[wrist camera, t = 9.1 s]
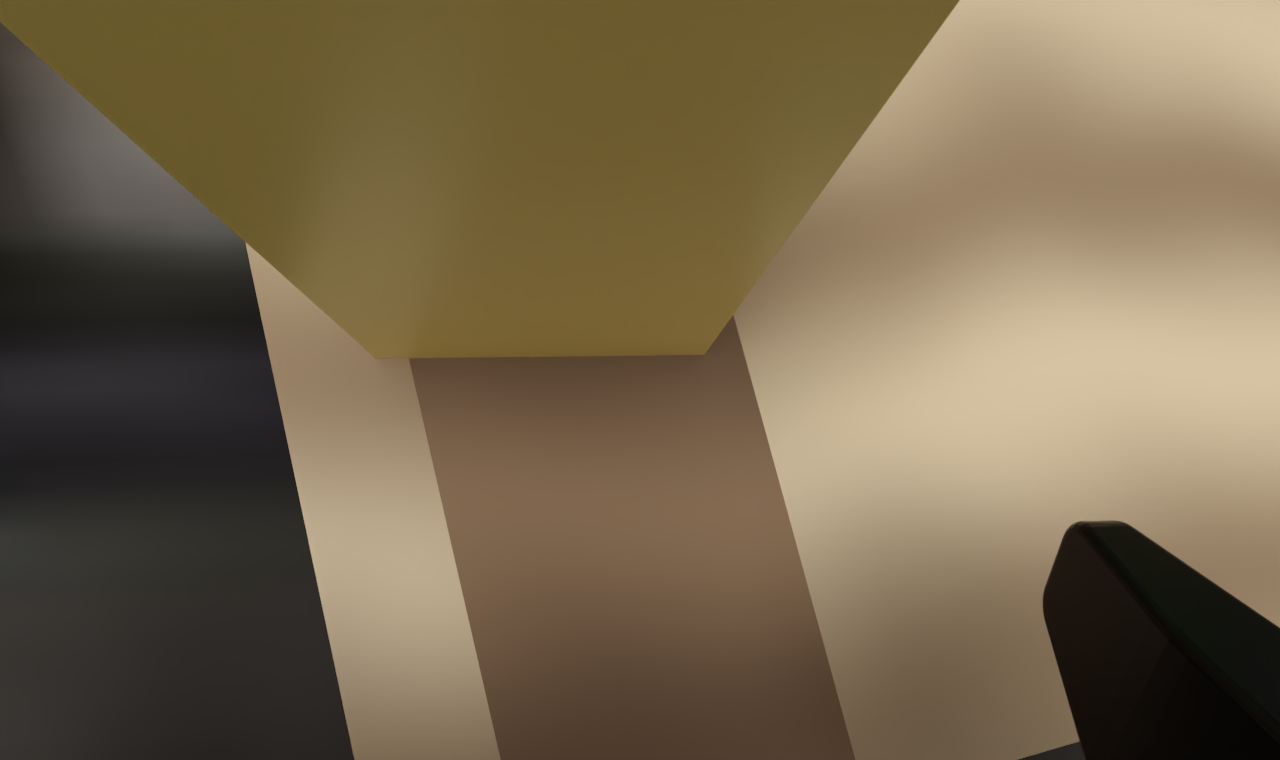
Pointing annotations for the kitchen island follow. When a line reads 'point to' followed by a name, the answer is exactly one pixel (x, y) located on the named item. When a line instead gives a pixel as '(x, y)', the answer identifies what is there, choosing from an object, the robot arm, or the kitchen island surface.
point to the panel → (837, 431)
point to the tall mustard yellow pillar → (497, 148)
